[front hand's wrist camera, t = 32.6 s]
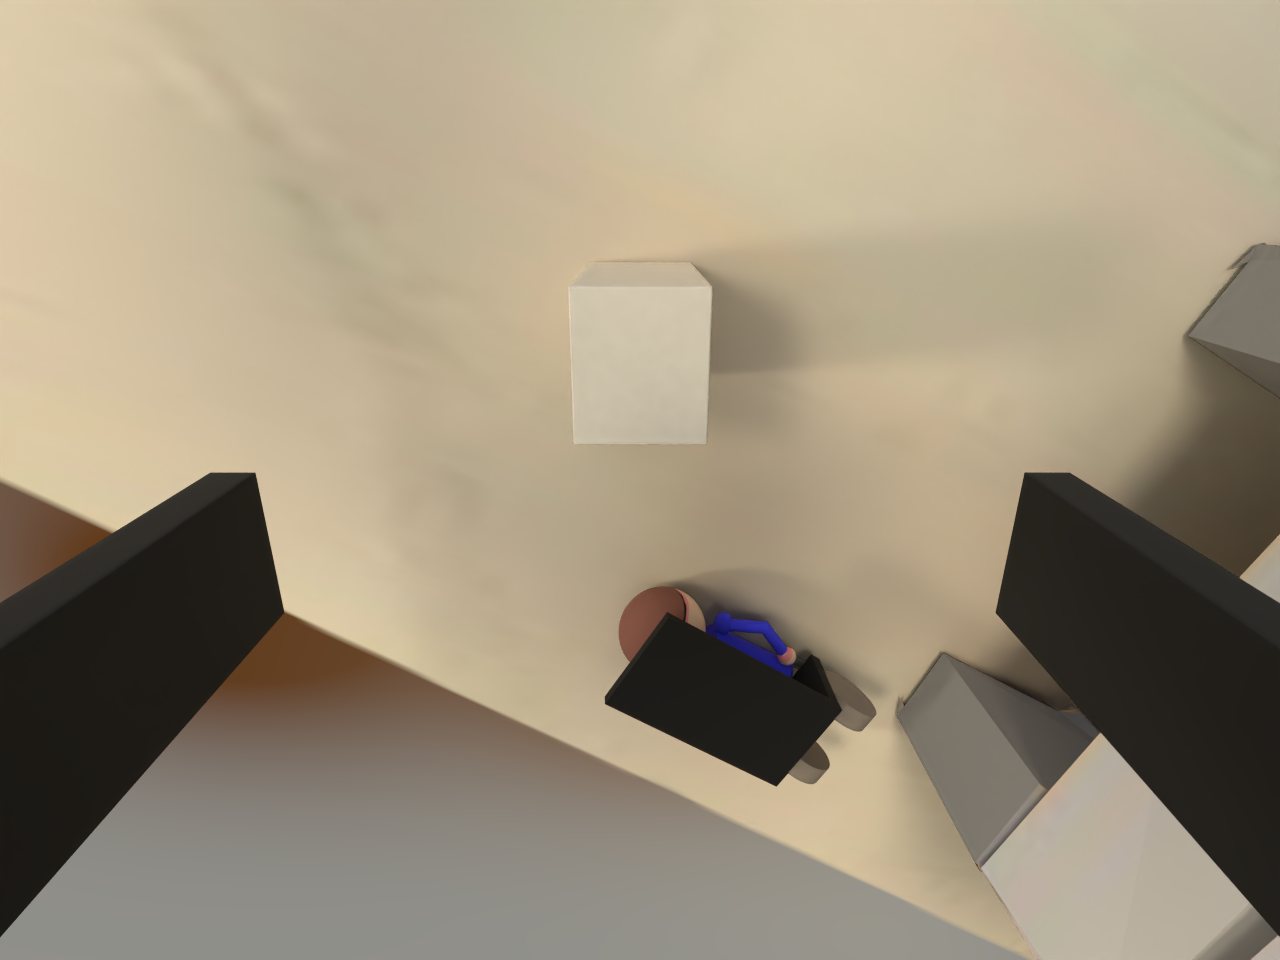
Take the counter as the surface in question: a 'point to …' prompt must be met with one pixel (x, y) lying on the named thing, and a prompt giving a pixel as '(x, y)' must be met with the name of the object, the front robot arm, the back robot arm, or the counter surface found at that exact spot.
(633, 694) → the figurine character
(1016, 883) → the record crate
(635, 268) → the block
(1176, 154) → the counter surface
